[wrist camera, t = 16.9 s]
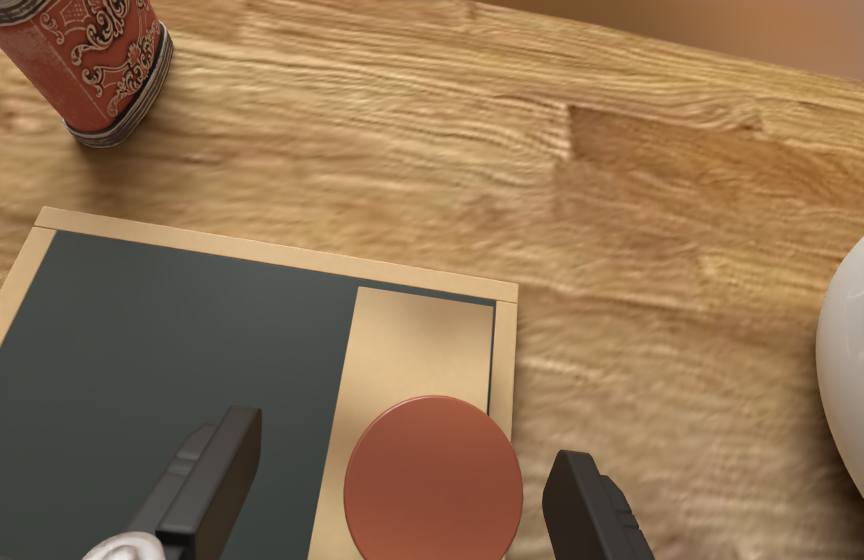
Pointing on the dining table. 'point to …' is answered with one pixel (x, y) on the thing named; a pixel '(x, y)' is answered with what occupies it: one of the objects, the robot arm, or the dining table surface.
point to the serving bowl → (844, 361)
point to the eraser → (416, 439)
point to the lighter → (90, 60)
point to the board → (183, 372)
